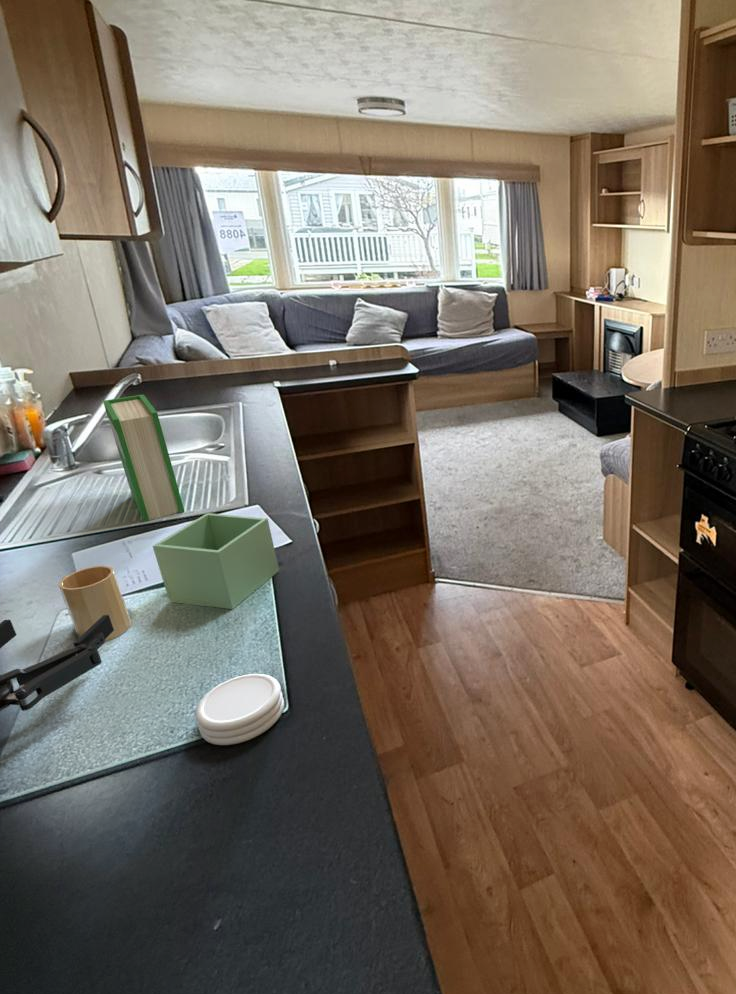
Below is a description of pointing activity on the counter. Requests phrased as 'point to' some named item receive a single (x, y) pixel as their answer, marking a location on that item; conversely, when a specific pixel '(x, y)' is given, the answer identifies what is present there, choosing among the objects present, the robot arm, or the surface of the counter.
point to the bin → (217, 560)
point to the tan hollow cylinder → (95, 599)
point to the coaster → (239, 709)
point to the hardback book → (144, 456)
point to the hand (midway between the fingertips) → (60, 624)
